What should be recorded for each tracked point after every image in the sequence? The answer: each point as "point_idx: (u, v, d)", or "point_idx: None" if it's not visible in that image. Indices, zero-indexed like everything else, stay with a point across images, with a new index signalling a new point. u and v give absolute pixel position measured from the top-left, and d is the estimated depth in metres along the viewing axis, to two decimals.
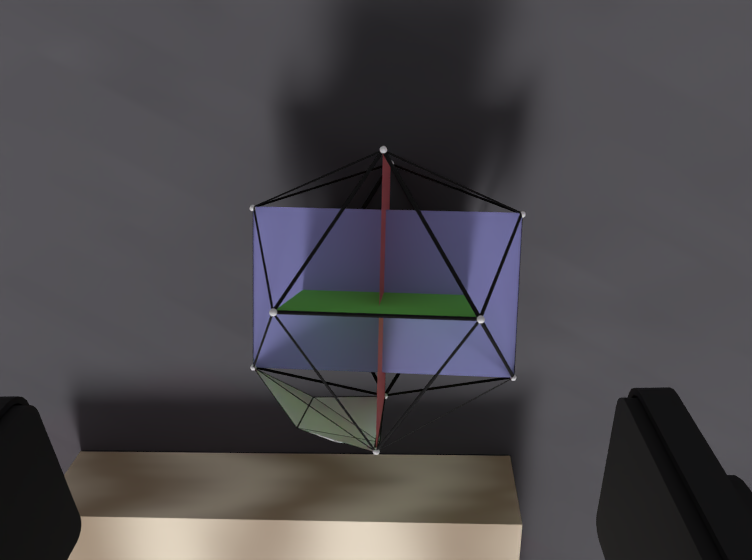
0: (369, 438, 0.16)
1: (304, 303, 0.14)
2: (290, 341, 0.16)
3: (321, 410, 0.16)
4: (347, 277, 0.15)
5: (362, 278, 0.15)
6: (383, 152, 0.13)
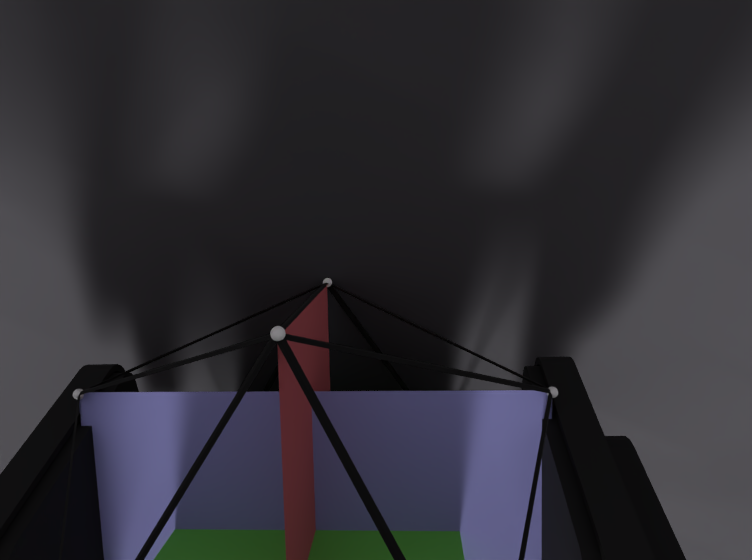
0: None
1: None
2: None
3: None
4: (251, 506, 0.09)
5: (277, 507, 0.09)
6: (278, 339, 0.06)
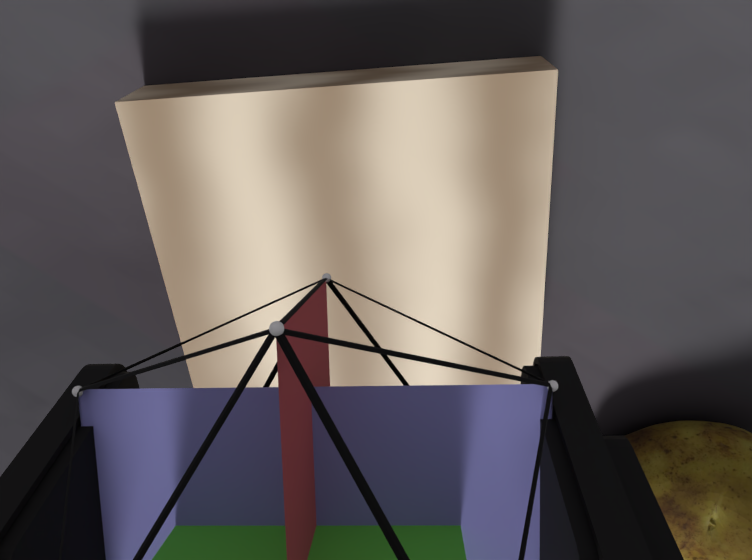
0: None
1: None
2: None
3: None
4: (251, 502, 0.09)
5: (277, 503, 0.09)
6: (276, 334, 0.06)
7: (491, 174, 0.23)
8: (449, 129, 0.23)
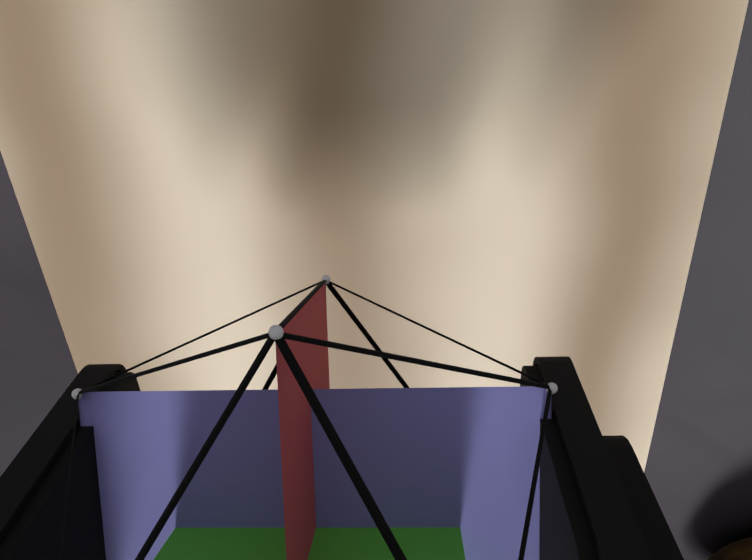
0: None
1: None
2: None
3: None
4: (251, 504, 0.09)
5: (277, 505, 0.09)
6: (275, 338, 0.06)
7: (610, 143, 0.13)
8: (545, 57, 0.13)
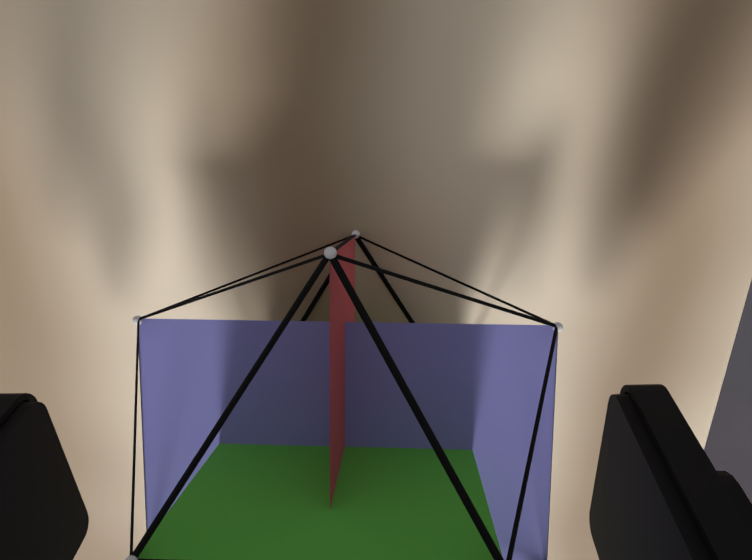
0: None
1: (204, 507, 0.08)
2: None
3: None
4: (287, 424, 0.10)
5: (311, 425, 0.10)
6: (330, 257, 0.08)
7: (648, 186, 0.11)
8: (570, 83, 0.10)
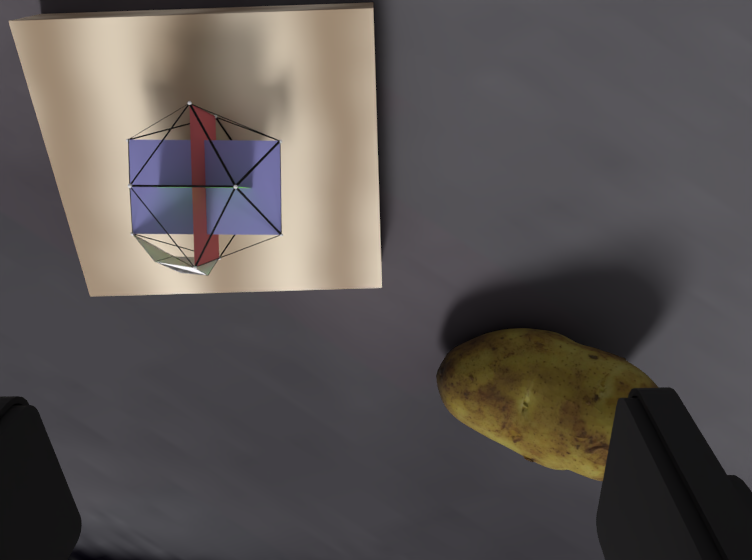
0: (201, 273, 0.28)
1: None
2: (153, 218, 0.27)
3: (175, 260, 0.28)
4: (184, 179, 0.27)
5: None
6: (189, 104, 0.25)
7: (327, 96, 0.28)
8: (289, 55, 0.28)
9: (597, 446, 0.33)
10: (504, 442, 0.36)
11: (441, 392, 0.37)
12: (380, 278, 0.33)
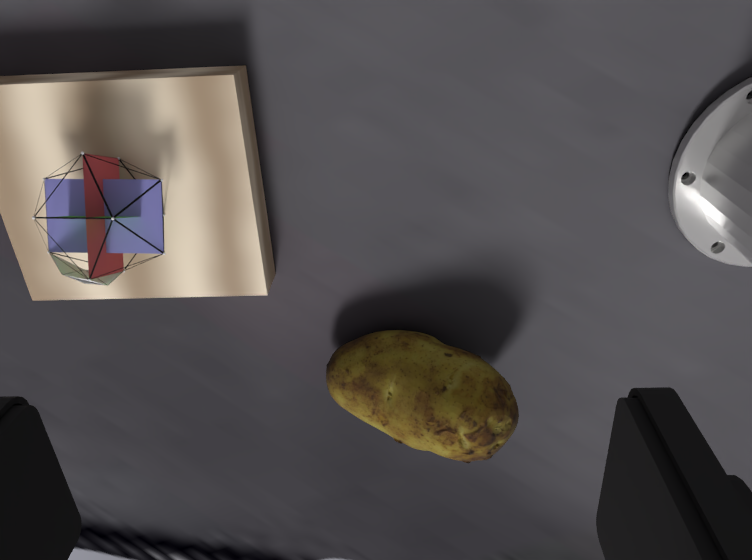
0: (102, 283, 0.35)
1: None
2: (64, 239, 0.35)
3: (83, 273, 0.36)
4: None
5: None
6: (82, 154, 0.32)
7: (205, 142, 0.36)
8: (172, 110, 0.35)
9: (443, 429, 0.39)
10: (377, 426, 0.42)
11: (327, 383, 0.43)
12: (265, 287, 0.40)
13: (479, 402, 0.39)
